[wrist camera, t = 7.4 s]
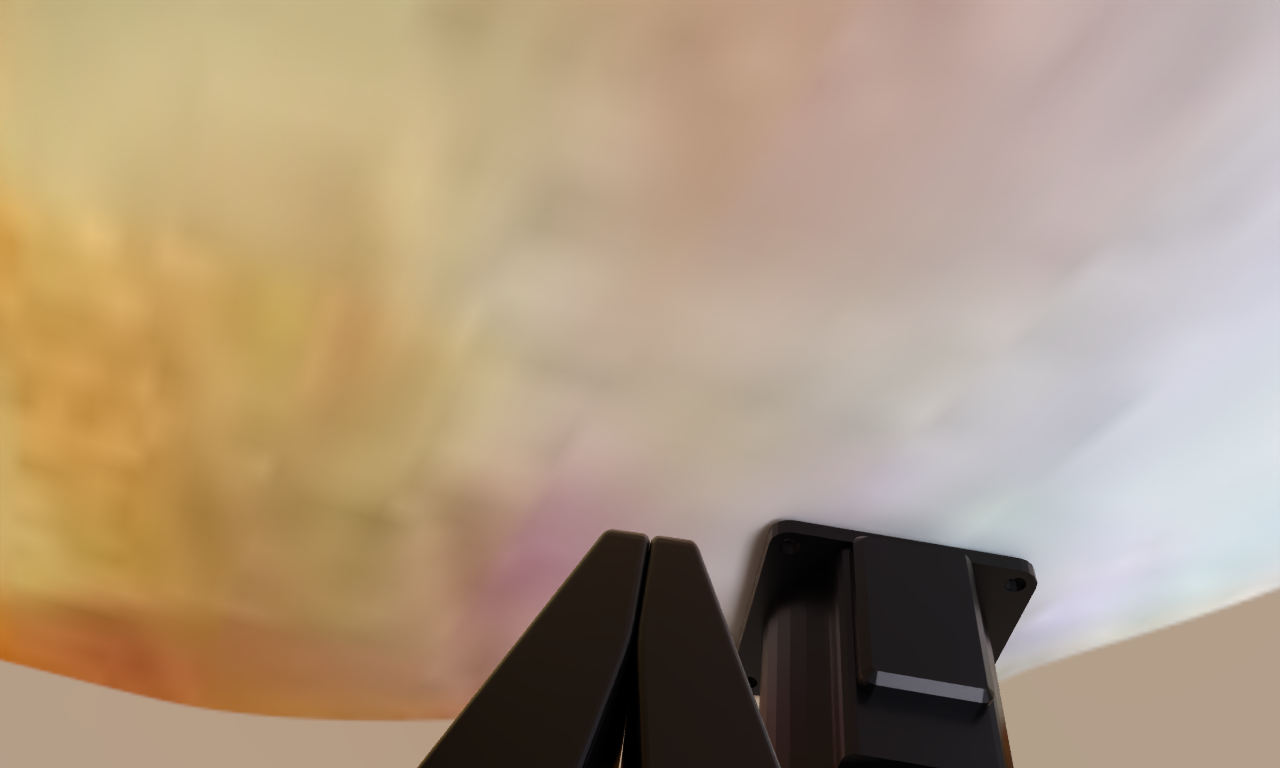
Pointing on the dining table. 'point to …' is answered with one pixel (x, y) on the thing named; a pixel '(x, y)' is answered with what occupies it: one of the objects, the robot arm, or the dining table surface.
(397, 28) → the dining table surface
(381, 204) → the dining table surface
